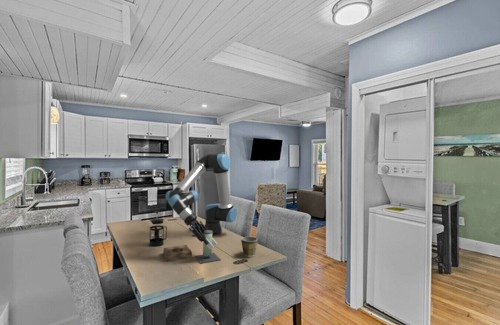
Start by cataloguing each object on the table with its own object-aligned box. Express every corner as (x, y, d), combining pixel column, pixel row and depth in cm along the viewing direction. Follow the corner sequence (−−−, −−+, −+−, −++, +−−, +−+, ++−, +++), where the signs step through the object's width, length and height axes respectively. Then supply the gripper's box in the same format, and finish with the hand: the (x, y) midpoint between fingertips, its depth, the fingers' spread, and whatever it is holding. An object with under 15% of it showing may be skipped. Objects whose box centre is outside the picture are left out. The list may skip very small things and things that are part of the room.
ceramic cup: (259, 257, 151) (259, 240, 152) (243, 259, 149) (243, 242, 149) (252, 250, 164) (253, 234, 164) (238, 251, 161) (238, 235, 161)
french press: (148, 247, 165) (149, 212, 166) (147, 243, 174) (147, 210, 174) (167, 245, 171) (168, 211, 171) (165, 241, 179) (165, 209, 179)
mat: (213, 253, 156) (213, 252, 156) (220, 260, 146) (220, 259, 146) (194, 256, 151) (194, 255, 151) (200, 263, 140) (200, 262, 140)
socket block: (186, 250, 161) (186, 244, 161) (191, 257, 149) (191, 251, 149) (163, 253, 155) (163, 247, 155) (167, 261, 143) (167, 255, 143)
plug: (209, 253, 152) (210, 229, 152) (212, 255, 147) (213, 231, 147) (201, 254, 149) (202, 230, 149) (204, 257, 145) (205, 232, 145)
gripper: (190, 217, 161) (214, 245, 157) (176, 224, 143) (203, 256, 139) (198, 209, 159) (223, 238, 156) (185, 215, 142) (212, 247, 138)
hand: (213, 246), depth 148 cm, fingers closed on plug, 5 cm apart
